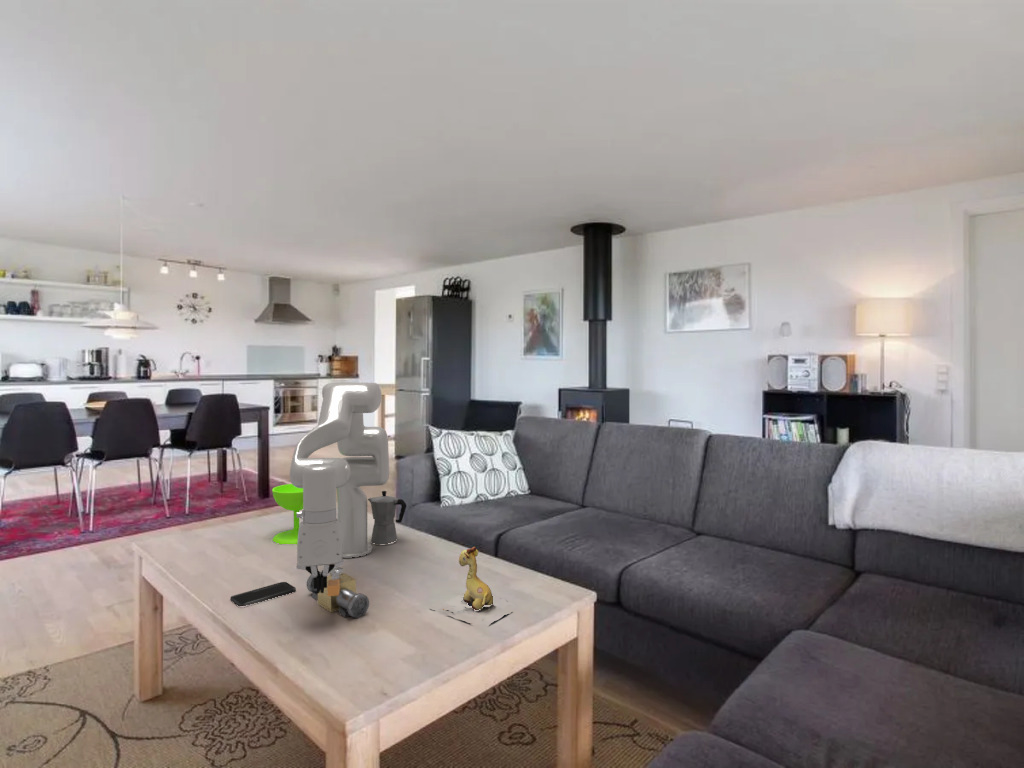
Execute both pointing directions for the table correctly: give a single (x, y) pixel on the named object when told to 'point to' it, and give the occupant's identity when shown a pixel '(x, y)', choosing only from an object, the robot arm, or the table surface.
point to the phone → (263, 594)
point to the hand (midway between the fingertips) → (320, 590)
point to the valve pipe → (341, 597)
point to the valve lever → (334, 581)
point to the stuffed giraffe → (474, 582)
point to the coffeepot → (385, 518)
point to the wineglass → (292, 501)
